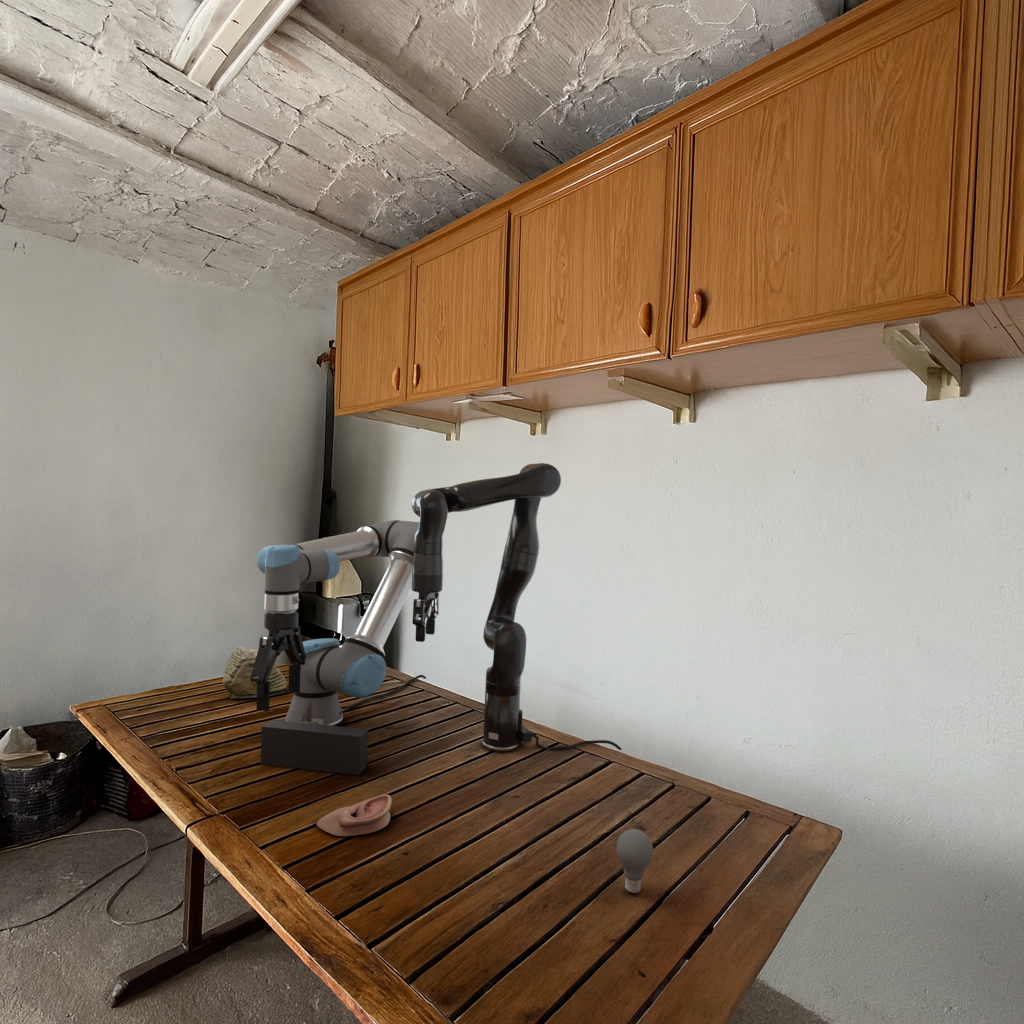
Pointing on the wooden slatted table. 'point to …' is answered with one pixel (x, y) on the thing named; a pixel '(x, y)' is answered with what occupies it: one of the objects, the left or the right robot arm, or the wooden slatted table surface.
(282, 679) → the fossil
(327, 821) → the anatomical model
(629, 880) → the light bulb
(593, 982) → the wooden slatted table surface
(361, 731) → the bar
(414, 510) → the right robot arm
